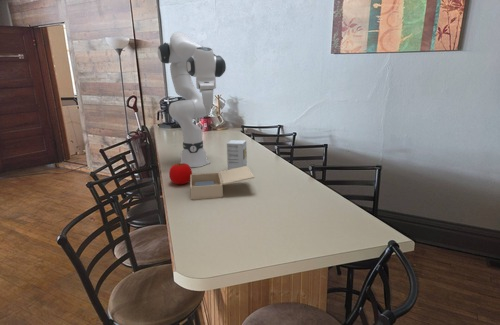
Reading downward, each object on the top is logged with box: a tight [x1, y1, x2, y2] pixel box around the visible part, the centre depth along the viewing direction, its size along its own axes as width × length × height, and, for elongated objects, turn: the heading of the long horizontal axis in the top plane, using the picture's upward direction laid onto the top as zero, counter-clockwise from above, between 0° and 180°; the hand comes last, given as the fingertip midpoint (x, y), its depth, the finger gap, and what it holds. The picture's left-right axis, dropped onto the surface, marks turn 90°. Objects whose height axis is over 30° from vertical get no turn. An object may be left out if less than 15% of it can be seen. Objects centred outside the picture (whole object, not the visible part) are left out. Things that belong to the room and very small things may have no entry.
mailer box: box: [189, 172, 224, 201], centre depth 151 cm, size 18×14×6 cm
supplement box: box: [226, 139, 248, 170], centre depth 180 cm, size 10×9×17 cm
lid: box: [219, 165, 255, 186], centre depth 152 cm, size 18×14×1 cm
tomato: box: [168, 162, 193, 185], centre depth 162 cm, size 11×12×10 cm
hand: (207, 115), depth 150 cm, fingers closed
